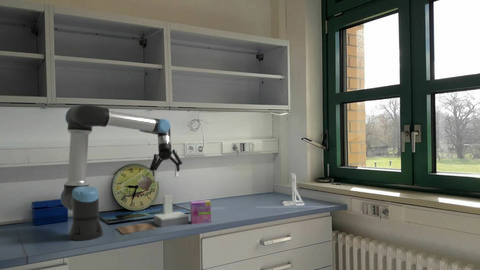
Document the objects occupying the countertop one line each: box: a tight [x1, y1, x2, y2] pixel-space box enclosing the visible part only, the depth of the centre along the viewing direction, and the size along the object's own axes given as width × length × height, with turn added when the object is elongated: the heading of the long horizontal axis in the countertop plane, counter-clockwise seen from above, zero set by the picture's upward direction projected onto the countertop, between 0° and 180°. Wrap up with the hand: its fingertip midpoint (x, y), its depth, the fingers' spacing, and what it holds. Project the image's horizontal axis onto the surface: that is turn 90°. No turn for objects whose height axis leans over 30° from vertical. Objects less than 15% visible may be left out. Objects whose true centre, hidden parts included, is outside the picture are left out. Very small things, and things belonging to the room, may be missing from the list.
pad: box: [115, 222, 158, 235], centre depth 195 cm, size 17×14×1 cm
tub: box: [153, 215, 190, 228], centre depth 205 cm, size 15×12×4 cm
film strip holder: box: [282, 172, 306, 207], centre depth 254 cm, size 14×14×20 cm
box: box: [190, 199, 212, 225], centre depth 205 cm, size 10×6×12 cm, turn 105°
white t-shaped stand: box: [153, 194, 189, 220], centre depth 205 cm, size 15×12×11 cm
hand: (166, 179), depth 216 cm, fingers open, 13 cm apart
